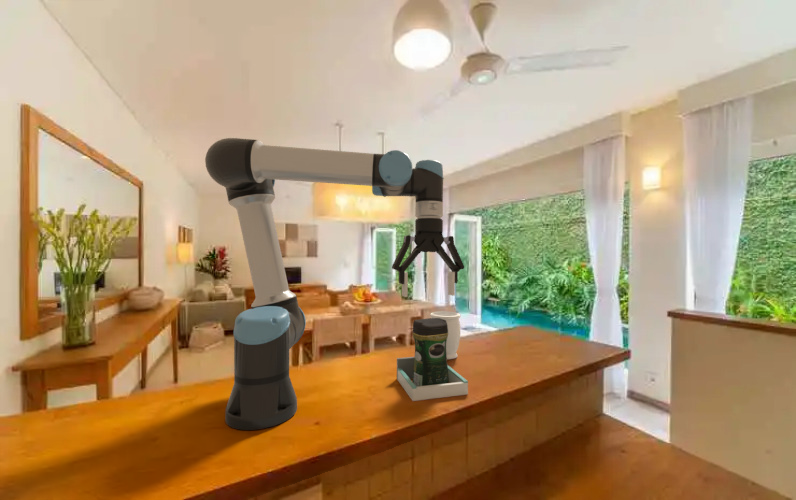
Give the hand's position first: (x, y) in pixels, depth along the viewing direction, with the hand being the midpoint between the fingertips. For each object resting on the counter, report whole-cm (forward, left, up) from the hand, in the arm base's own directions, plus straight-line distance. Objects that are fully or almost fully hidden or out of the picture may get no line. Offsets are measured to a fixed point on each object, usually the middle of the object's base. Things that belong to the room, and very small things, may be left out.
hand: (428, 295), depth 93 cm
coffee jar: (+1, 0, -25) cm, 25 cm away
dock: (+1, 0, -25) cm, 25 cm away
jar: (+15, +23, -25) cm, 37 cm away
